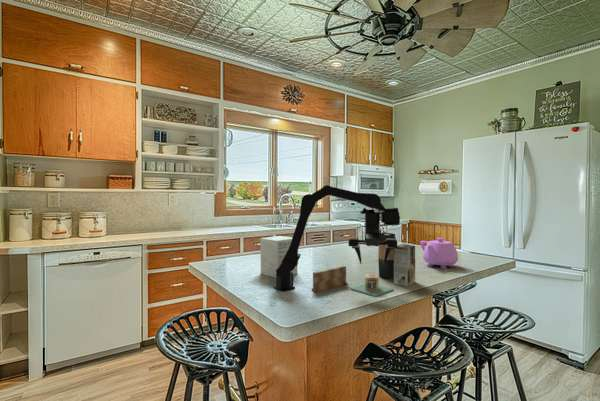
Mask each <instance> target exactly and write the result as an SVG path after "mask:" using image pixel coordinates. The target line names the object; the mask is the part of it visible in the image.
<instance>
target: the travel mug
mask: <svg viewBox="0 0 600 401" xmlns="http://www.w3.org/2000/svg"><path fill="white" fill-rule="evenodd" d="M383 233H384V240H386V238H392V239H396V234H395V233H391V232H383ZM385 246H386V245H379V246H377V247H378V248H377V249H378V250H377V251H378V255H377V256H378V258H377V259H378V278H381V279H387V280H391V279H394V249H393V250H391V251H390V252H389V254H388V257H387V260H386V263H385V265H384V254H385ZM393 248H394V247H393Z"/></svg>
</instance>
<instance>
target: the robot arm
mask: <svg viewBox="0 0 600 401" xmlns="http://www.w3.org/2000/svg"><path fill="white" fill-rule="evenodd" d="M327 196H331V197H336V198H339V199H343V200H349V201H352V202H355V203H358V204H360V205H363V206H365V207H363V208H362V210H360V211H359V214H362V215H364V239H359V237H350V238H349V239H348V247H351V249H353V250H354V251H355V252H356V254H357V258H358V261H359V263H360V265H361V264H362V253H361V246H360V245H362V246H363V245H365V246H367V247H371V246H372V247H378V246H379V245H386V246H385V254H384V265H385V263H386V260H387V257H388V254H389V252H390V251H391V250H393V249H394V248H393V247H397V246H398V240H397V239H396V238H395V239H392V238H386V240H384V233H385V232H381V228H380V227H381V226H380V225H381V224H380V222H381V223H383V225H384V226H399V225H400V224H401V218H400V217H401V216H400V212H399V208H398V207H392V208H391V207H389V208H385V206H384V205H383V204H382V202H381V201H382V200H381V196H379V195H378V194H376V193H367V192H366V193H365V192H355V191H352V190H346V189H343V188H339V187H334V186H331V185H328V184H326V185H324V186H323V187H321V188H320V189H318V190H316V191H315V192H313V193H312V194H310V193H309V194H305V195H303V197H302V198H301V202H300V209H299V210H300V211H299V217H298V220H297V223H296V227H295V229H294V232H293V235H292V237H293V238H292V241H291V244H290V247H289V249H288V251H287V253H286V255H285V256H284V258H283V260H282V263H281V264H280V265H279V267H278V268H277V270H276V273H277V274H276V278H275V286H273V288H274V289H276V290H279V291H281V292H285V291H290V290H293V289H296V286H294V276H293V273H292V272H290V271H292V270H293V269H294V268H295V266H296V267H297V268H298V265H299V260H300V258H301V256H302V254H301V253H299V248H300V246H301V242H302V239H303V236H304V233H305V229H306V227H307V223H308V220H309V217H310V215H311V213H312V212H313V210H314V208H315V206H316V204H317V202H319V201H320V200H323V199H324V198H325V197H327ZM366 207H367V208H368V209H367V208H366ZM369 208H370V209H369ZM375 210H377V211H375Z"/></svg>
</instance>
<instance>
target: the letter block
mask: <svg viewBox="0 0 600 401" xmlns="http://www.w3.org/2000/svg"><path fill="white" fill-rule="evenodd" d="M364 278H365V283H364V284H365V290H374V291H379V285H380V284H379V278H380V277H379V274H367V273H366V274H365V277H364Z"/></svg>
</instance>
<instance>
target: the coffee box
mask: <svg viewBox="0 0 600 401" xmlns="http://www.w3.org/2000/svg"><path fill="white" fill-rule="evenodd" d="M414 283H416V245H413V244H412V245H411V244H405V243H402V244H397V247H394V278H393V284H394V285H397V286H403V287H409V286H411V285H412V284H414Z"/></svg>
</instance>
